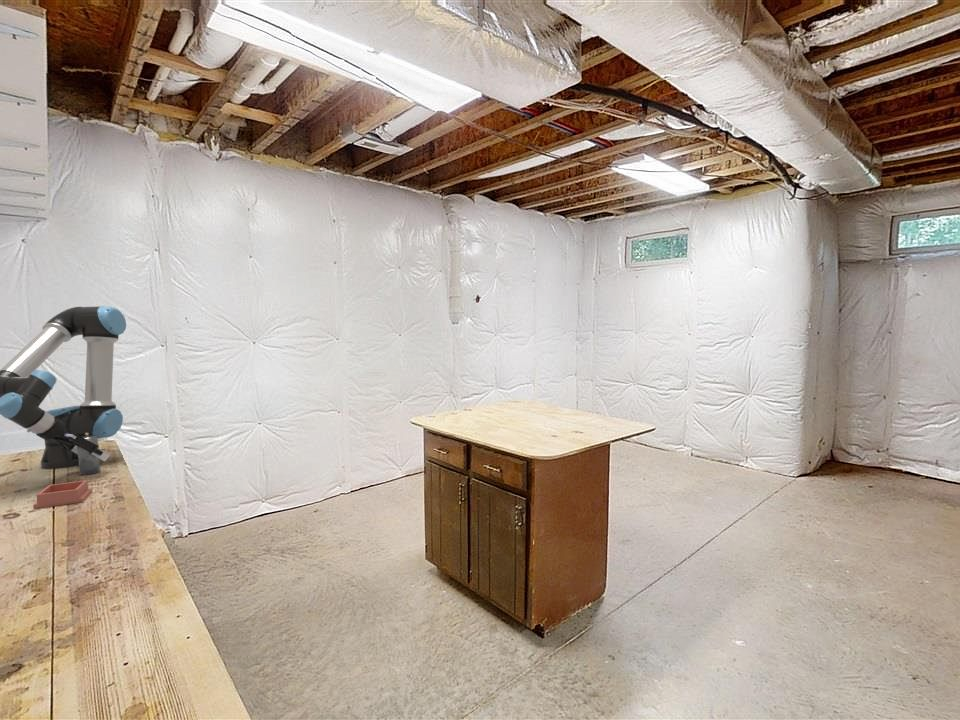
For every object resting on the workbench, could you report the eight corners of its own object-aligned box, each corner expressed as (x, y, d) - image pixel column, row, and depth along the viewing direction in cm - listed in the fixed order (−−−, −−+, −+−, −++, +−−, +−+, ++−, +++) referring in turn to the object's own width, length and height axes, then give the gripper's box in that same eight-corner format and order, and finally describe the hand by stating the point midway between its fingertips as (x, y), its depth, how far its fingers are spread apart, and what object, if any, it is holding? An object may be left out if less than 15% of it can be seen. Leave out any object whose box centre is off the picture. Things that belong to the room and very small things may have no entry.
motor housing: (82, 471, 180) (79, 432, 179) (102, 469, 183) (98, 430, 182) (77, 476, 175) (73, 435, 174) (97, 474, 178) (94, 433, 176)
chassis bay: (46, 497, 154) (45, 485, 153) (92, 491, 159) (91, 479, 158) (33, 508, 145) (32, 495, 144) (82, 501, 150) (81, 489, 150)
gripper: (16, 432, 167) (71, 463, 183) (57, 437, 159) (110, 468, 176) (33, 415, 171) (85, 446, 188) (74, 418, 164) (124, 450, 180)
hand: (97, 457), depth 182 cm, fingers open, 10 cm apart
